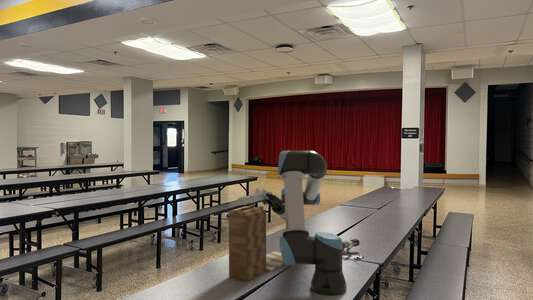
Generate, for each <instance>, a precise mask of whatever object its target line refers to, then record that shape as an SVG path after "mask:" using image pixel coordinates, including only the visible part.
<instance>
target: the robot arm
mask: <svg viewBox="0 0 533 300" xmlns="http://www.w3.org/2000/svg"><path fill="white" fill-rule="evenodd" d="M278 157H279V158H278V167H277V175H279V176H280V180H282V181H283V185H284V186H283V188H282V189H281V192H280V193H281V195H280V197H281V198H279V197H278V196H277V195H273V193H272V192H271V194H269V193H268V192H269V191H267V190H265V189H264V188H262V189H261V190H260V189H259V188H256V189H255V192H254V194H258V193H261V195H263V196H264V197H265V198H266V199H265V200H261V201H260V202H261V203H262V204H263V205H264V206H266V205H268V206H269V207H271V210H272V212H273V213H275V214H276V215H277V216H278V217H280V218H281V219H283V220H284V221H285V230H283V232H282V236H280V237H279V248H280V252H281V256H282V260H283V262H284V263H285V264H284V265H288V266H297V265H298V266H300V265H301V266H302V265H305V266H306V265H308V266H309V265H310V266H311V265H312V266H314V272H313V275H312V277H311V278H312V279H311V280H310V289H311V290H312V291H313V292H315V293H318V294H320V295H326V296H337V295H341V294H344V293H345V292H346V291H347V282H346V278H345V275H344V271H343V251H342V250H343V246H342V242H343V240H342V238H341V237H340V236H339V235H337V234H334V233H331V232H324V231H323V232H322V231H320V232H319V231H318V232H316V233H315V234H314V236H310V231H308V230H307V229H306V222H305V221H306V220H305V219H306V217H305V206H315V205H320V204H321V194H320V191H319V190H320V188H321V185H322V182H323V179H324V178H325V176H326V174H327V171H328V164H327V162H326V159H325V158H324V157H323V155H321V154H319V153H318V152H316V151H314V150H283V151H282V150H281V152H280V153H279V156H278ZM306 175H307V179H306V183H305V187H304V188H303V180H304V179H305V177H306Z"/></svg>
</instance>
